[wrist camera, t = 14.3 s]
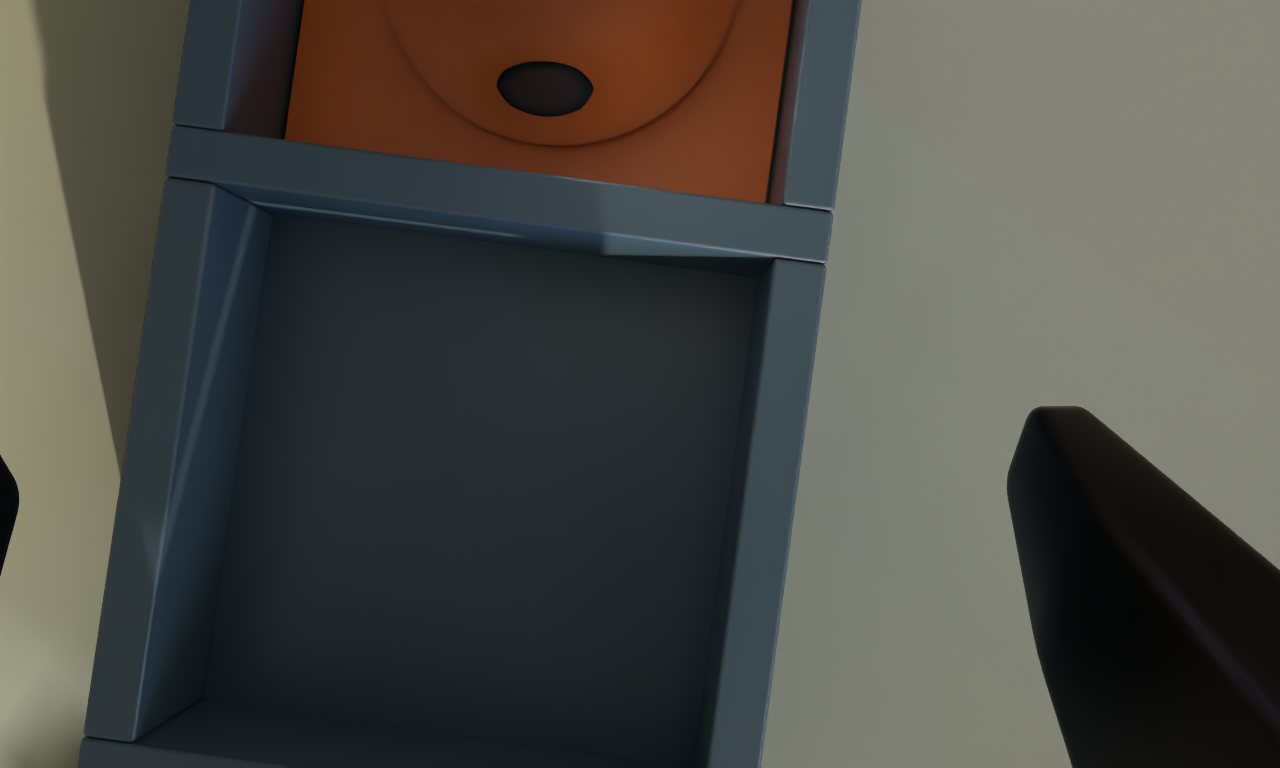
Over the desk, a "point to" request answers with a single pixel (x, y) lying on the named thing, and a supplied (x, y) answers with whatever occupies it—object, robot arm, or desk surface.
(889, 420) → the desk surface
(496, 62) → the beer glass
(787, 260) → the divided tray
